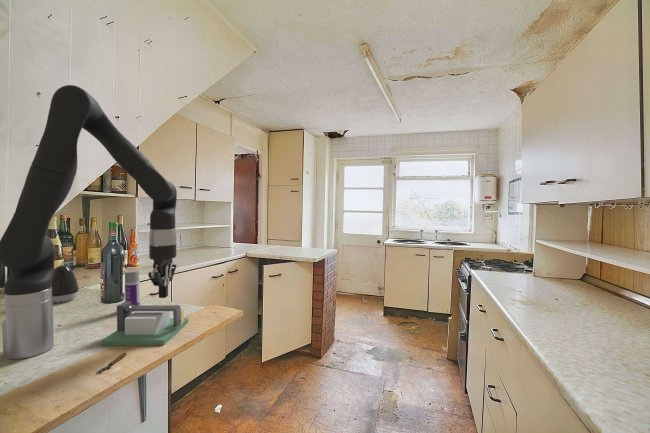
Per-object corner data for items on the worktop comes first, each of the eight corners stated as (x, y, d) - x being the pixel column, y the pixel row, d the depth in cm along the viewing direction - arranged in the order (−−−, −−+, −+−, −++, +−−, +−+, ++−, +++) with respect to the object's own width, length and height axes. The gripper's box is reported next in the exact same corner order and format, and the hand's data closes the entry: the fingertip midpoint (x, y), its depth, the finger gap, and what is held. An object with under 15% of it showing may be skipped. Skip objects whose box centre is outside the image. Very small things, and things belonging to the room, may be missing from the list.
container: (123, 312, 110) (122, 273, 110) (128, 307, 115) (127, 270, 114) (137, 310, 112) (136, 272, 111) (141, 306, 116) (140, 269, 116)
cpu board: (101, 345, 85) (100, 313, 84) (135, 322, 101) (135, 295, 100) (164, 344, 85) (163, 313, 85) (188, 322, 101) (187, 295, 101)
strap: (123, 327, 91) (122, 308, 91) (130, 322, 94) (130, 304, 94) (176, 327, 91) (175, 308, 91) (181, 322, 95) (181, 304, 95)
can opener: (123, 356, 79) (123, 352, 79) (130, 356, 79) (130, 352, 79) (92, 375, 71) (92, 371, 70) (101, 376, 70) (100, 371, 70)
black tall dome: (45, 307, 115) (44, 269, 114) (47, 300, 123) (45, 264, 122) (79, 301, 122) (78, 265, 121) (78, 295, 130) (77, 261, 129)
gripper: (162, 240, 98) (162, 291, 99) (138, 246, 85) (138, 304, 86) (184, 240, 98) (184, 291, 99) (164, 246, 85) (164, 304, 86)
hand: (163, 297), depth 92 cm, fingers closed
